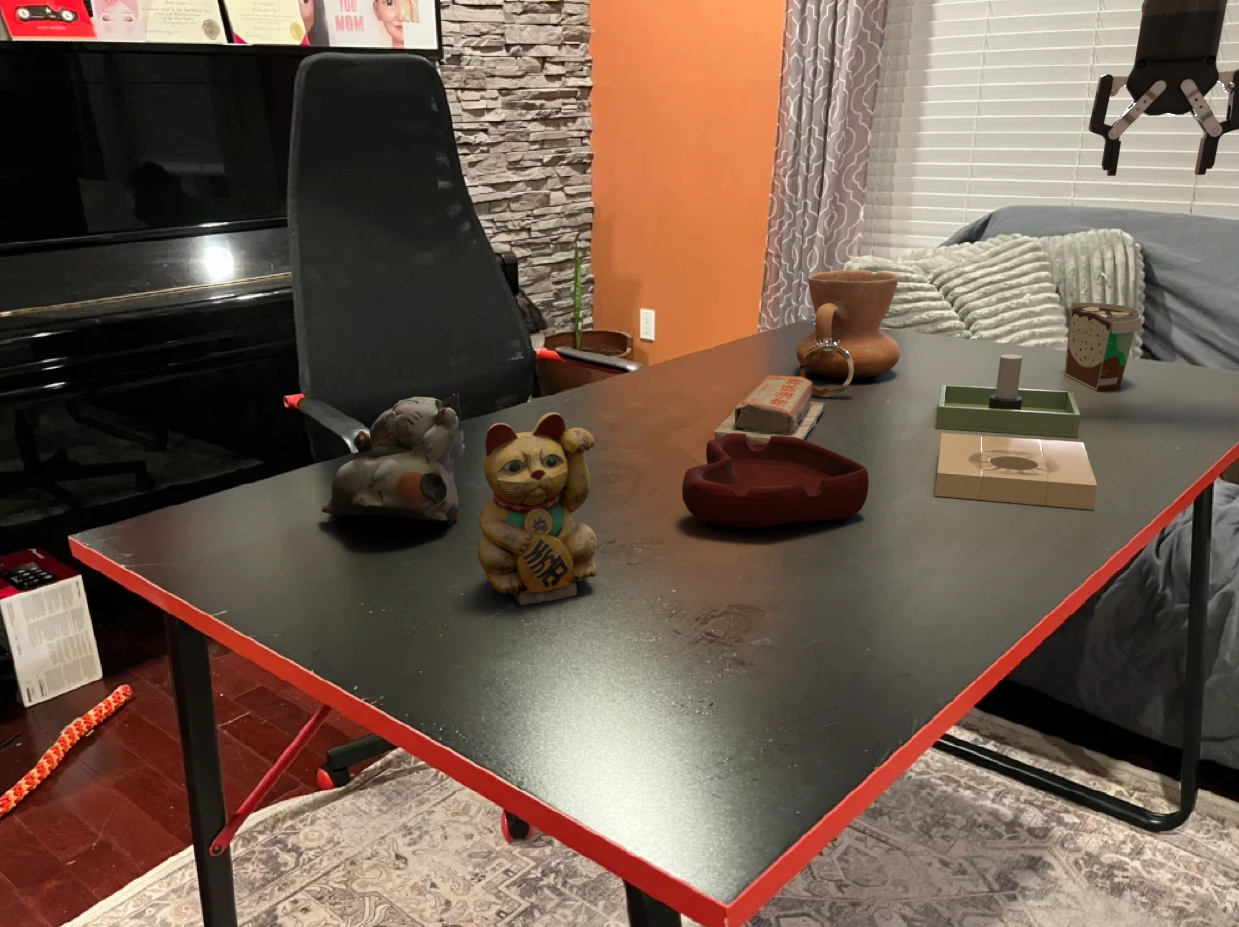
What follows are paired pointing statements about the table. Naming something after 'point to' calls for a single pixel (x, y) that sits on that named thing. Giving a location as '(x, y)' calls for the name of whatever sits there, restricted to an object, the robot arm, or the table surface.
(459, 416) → the lucky cat figurine
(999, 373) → the plug
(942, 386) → the tray
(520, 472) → the decorative figurine
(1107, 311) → the food container
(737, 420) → the packaged product
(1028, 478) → the sink deck
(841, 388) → the ring
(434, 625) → the table surface
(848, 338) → the ceramic jug
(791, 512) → the ashtray
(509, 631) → the table surface
